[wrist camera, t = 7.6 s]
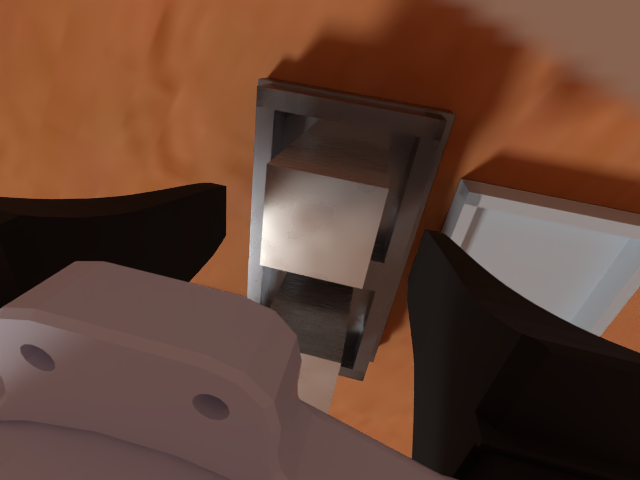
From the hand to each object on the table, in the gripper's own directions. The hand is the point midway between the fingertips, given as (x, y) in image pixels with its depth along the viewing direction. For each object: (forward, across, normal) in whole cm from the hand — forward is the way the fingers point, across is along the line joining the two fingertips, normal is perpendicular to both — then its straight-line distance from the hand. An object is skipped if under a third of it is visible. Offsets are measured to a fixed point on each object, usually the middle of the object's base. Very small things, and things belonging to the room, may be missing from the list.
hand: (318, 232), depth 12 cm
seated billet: (+6, 0, +8) cm, 10 cm away
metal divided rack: (+7, 0, +4) cm, 8 cm away
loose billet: (+6, 0, 0) cm, 6 cm away
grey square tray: (+7, -10, +3) cm, 13 cm away
